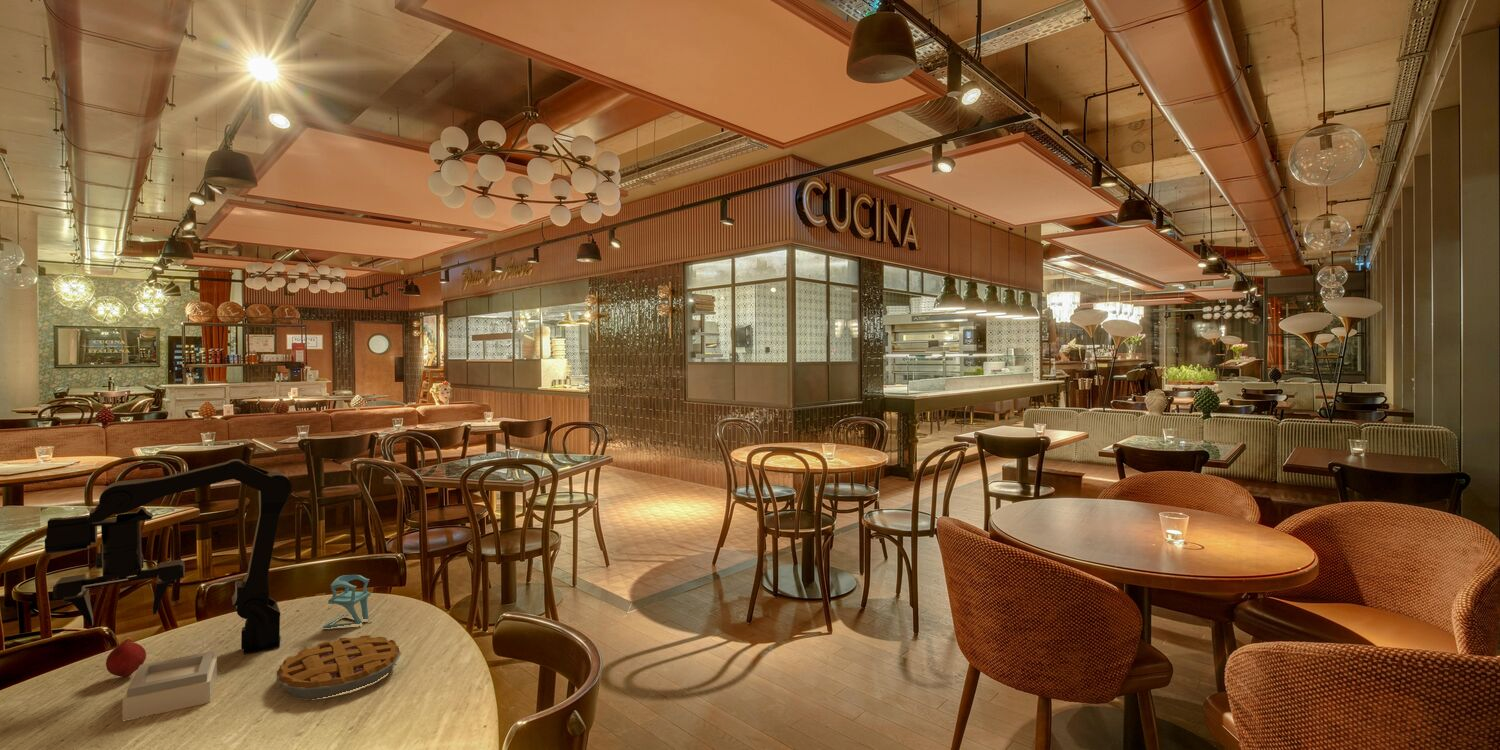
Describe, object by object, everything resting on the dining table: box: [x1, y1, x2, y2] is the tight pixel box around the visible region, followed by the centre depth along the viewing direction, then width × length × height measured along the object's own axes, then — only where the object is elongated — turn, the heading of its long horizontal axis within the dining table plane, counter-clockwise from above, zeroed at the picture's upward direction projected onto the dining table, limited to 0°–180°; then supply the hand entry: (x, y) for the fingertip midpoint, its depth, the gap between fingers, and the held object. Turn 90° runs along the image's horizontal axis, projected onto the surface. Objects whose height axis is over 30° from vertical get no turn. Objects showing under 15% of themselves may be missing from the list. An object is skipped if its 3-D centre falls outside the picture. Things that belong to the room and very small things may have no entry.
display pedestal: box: [122, 651, 218, 721], centre depth 122 cm, size 12×12×6 cm
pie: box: [276, 634, 402, 701], centre depth 132 cm, size 22×22×5 cm
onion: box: [105, 637, 147, 678], centre depth 129 cm, size 6×6×8 cm
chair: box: [322, 574, 371, 629], centre depth 157 cm, size 8×8×12 cm
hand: (123, 619), depth 129 cm, fingers open, 9 cm apart
